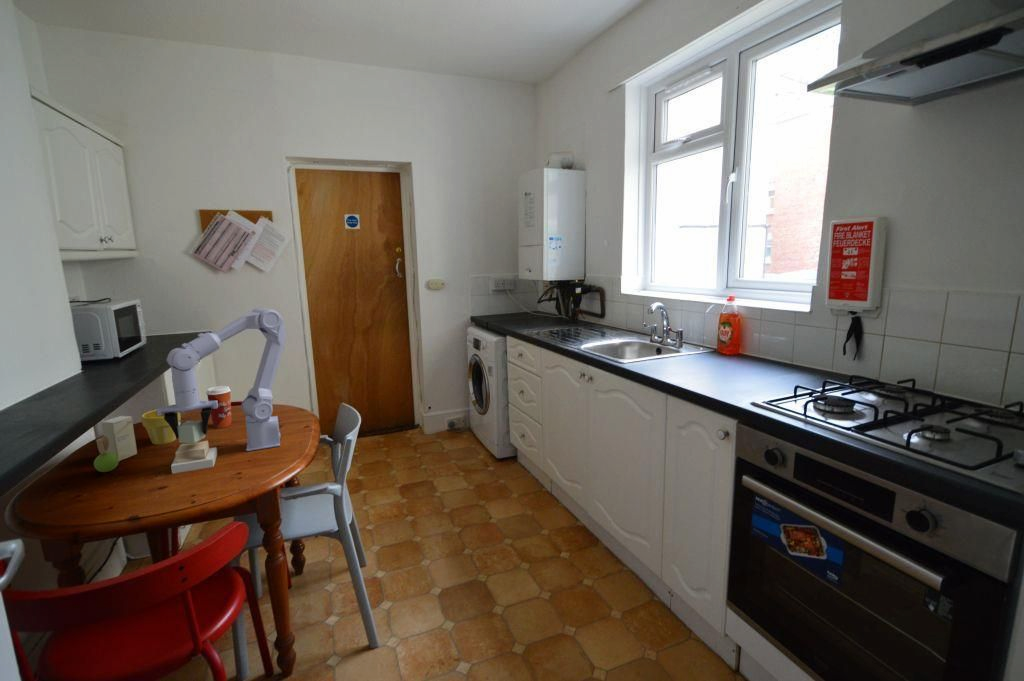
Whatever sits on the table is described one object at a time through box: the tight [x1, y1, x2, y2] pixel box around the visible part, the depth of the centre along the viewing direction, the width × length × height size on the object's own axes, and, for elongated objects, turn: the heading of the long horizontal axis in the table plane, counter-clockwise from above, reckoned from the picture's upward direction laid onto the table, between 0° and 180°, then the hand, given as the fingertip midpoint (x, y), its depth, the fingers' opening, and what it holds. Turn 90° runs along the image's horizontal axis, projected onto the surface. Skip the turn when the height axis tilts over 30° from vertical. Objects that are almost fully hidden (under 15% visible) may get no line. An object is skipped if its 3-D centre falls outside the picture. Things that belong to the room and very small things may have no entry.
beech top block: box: [174, 440, 210, 463], centre depth 143 cm, size 7×7×3 cm
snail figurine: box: [93, 434, 120, 473], centre depth 138 cm, size 5×6×12 cm
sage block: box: [177, 420, 206, 444], centre depth 142 cm, size 4×4×5 cm
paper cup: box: [205, 385, 233, 429], centre depth 174 cm, size 8×8×14 cm
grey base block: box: [170, 446, 218, 474], centre depth 143 cm, size 10×10×3 cm
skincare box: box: [100, 415, 138, 462], centre depth 148 cm, size 6×4×12 cm
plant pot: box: [141, 409, 182, 445], centre depth 161 cm, size 10×10×10 cm
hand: (191, 434), depth 142 cm, fingers closed on sage block, 6 cm apart
